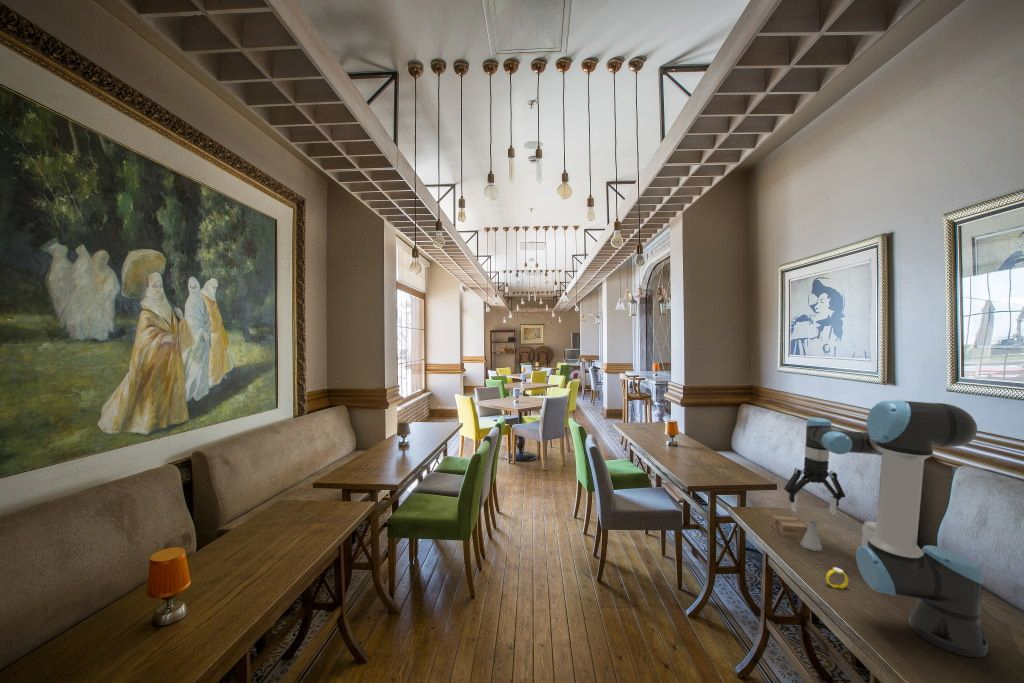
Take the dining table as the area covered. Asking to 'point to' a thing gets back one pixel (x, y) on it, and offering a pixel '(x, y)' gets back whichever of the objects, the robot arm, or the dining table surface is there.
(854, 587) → the dining table surface
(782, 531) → the stacked wooden planks
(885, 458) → the robot arm
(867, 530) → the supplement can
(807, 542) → the flask
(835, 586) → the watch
